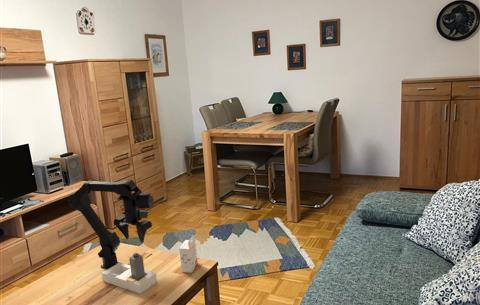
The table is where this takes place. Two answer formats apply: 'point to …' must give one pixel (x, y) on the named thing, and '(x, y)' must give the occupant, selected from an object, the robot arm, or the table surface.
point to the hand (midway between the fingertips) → (134, 240)
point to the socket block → (128, 278)
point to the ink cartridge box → (188, 255)
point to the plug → (137, 266)
